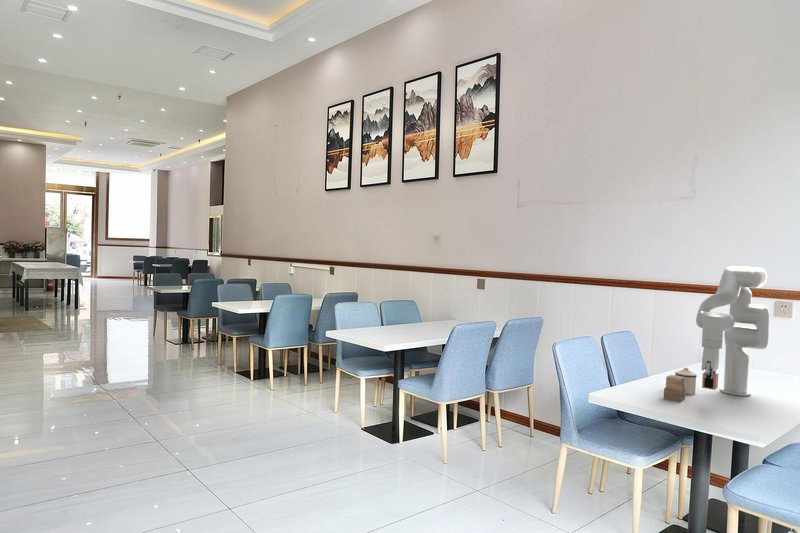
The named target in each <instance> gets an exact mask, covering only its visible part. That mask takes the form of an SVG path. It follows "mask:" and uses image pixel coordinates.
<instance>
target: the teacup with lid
mask: <svg viewBox="0 0 800 533" xmlns="http://www.w3.org/2000/svg"><path fill="white" fill-rule="evenodd" d="M673 375H674V376H680V377H685V385H684V388H685V395H687V394H688V395H690V396H692V395H695V394H696V390H697V389H696V385H697V373H695V372H692V371H691V370H690V369H689V367H683V368H682V369H680V370H676V371H675V372H674V374H673Z"/></svg>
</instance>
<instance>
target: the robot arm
mask: <svg viewBox="0 0 800 533" xmlns="http://www.w3.org/2000/svg"><path fill="white" fill-rule="evenodd" d="M767 279H768V274H767V271H766V269H765V268H764V267H755V266H754V267H752V266H728V267H725V268H724V269H723V272H722V275H721V277H720V281H719V283H718V287H717V290H716V292H715V293H713V294H712V295H710V296H708V297H707V298H705V300H703V301H702V302H701V303H700V305H699V308H698V311H697V313H696V318H695V323H696V325H697V327H698V328H701V329H702V334H701V335H702V336H701V337H702V338H701V347H702V348H703V349H702V359H701V368H700V369H701V371H704V372H705V379H704V387H706V388H713V373H717V370H718V369H719V362H720V350H721V349H723V338H724V343H725V344H724V346H725V352H724V353H725V355H724V356H725V358H724V376H723V386H722V387H720V388H719V391H720V392H721V393H724V394H727V395H732V396H740V397H747V396H751V395H752V393H751V391H750V390H748V378H749V377H748V375H749V364H750V363H749V362H750V359H749V358H750V357H749V354H748V352H747V351H746V348H747V349H754V350H765V349H766V348H767V347H768V344H769V338H770V337H769V335H770V334H769V333H770V319H771V317H770V315H771V314H770V310H769V308H768V307H767V306H766V305H763V304H752V299H753V297H752V296H753V293H752V291H751V290H750V289H758V288H761V287H763V286H764V285H765V284H766V282H767V281H768V280H767ZM728 305H729V313H724V312H714V311H712V310H713V309H717V308H720V307H724V306H728ZM735 324H740V325H741V324H743V325H750V326H751V325H752V326H755V327H747V326H740V325H739V326H738V325H735ZM723 333H724V334H723ZM723 336H724V337H723ZM706 388H705V389H706Z"/></svg>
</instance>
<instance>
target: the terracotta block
mask: <svg viewBox="0 0 800 533" xmlns="http://www.w3.org/2000/svg"><path fill="white" fill-rule="evenodd" d="M704 379H705V371H704V372H703V373H702V379H701V380H702V382H701V383H702V384H701V388H702V389H706V390H707V389H708V390H714V391H716V390H717V389H718V388H719V373H717V372H716V373H713V388H706V387H704Z"/></svg>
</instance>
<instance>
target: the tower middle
mask: <svg viewBox="0 0 800 533" xmlns="http://www.w3.org/2000/svg"><path fill="white" fill-rule="evenodd" d="M674 375H675V374H670V375H669V374H668V375H666V377H665V387H666V388H668V389H674V390H679V391H681V390H683V389H684V385H685V377H680V376H674Z"/></svg>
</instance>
